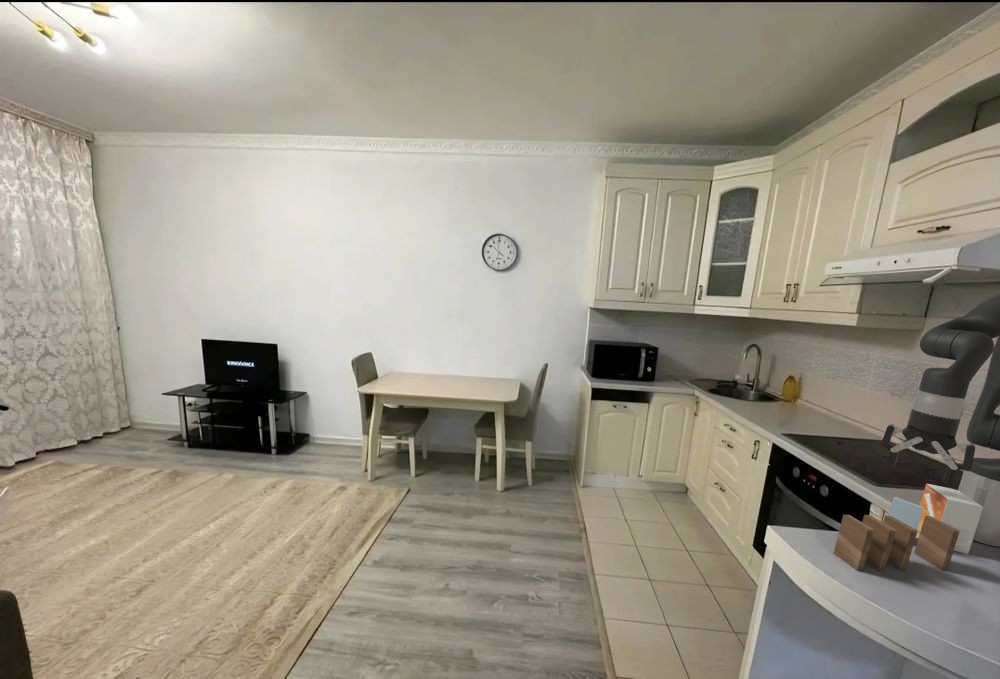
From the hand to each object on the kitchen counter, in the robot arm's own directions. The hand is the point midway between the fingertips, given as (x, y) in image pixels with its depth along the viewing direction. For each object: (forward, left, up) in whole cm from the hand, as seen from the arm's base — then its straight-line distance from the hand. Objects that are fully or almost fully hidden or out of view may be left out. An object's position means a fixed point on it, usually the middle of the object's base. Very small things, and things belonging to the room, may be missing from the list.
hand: (918, 473), depth 87 cm
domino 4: (+15, +3, -18) cm, 23 cm away
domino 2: (+20, +1, -18) cm, 27 cm away
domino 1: (+25, -1, -18) cm, 31 cm away
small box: (-11, +4, -18) cm, 22 cm away
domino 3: (0, 0, -18) cm, 18 cm away
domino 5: (+4, +6, -18) cm, 20 cm away
